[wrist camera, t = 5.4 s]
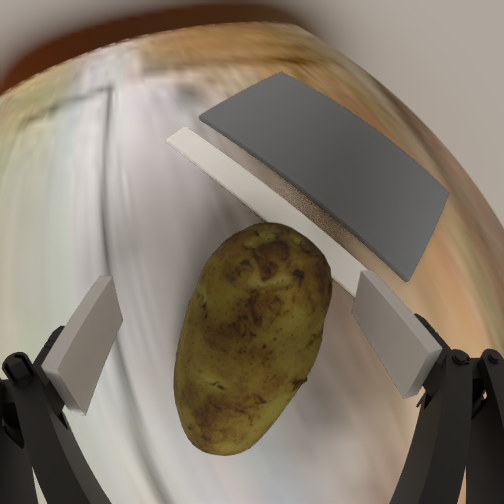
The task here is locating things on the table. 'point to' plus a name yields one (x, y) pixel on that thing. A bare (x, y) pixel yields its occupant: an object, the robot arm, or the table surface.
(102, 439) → the table surface
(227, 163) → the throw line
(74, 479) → the robot arm
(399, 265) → the mat
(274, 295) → the potato
